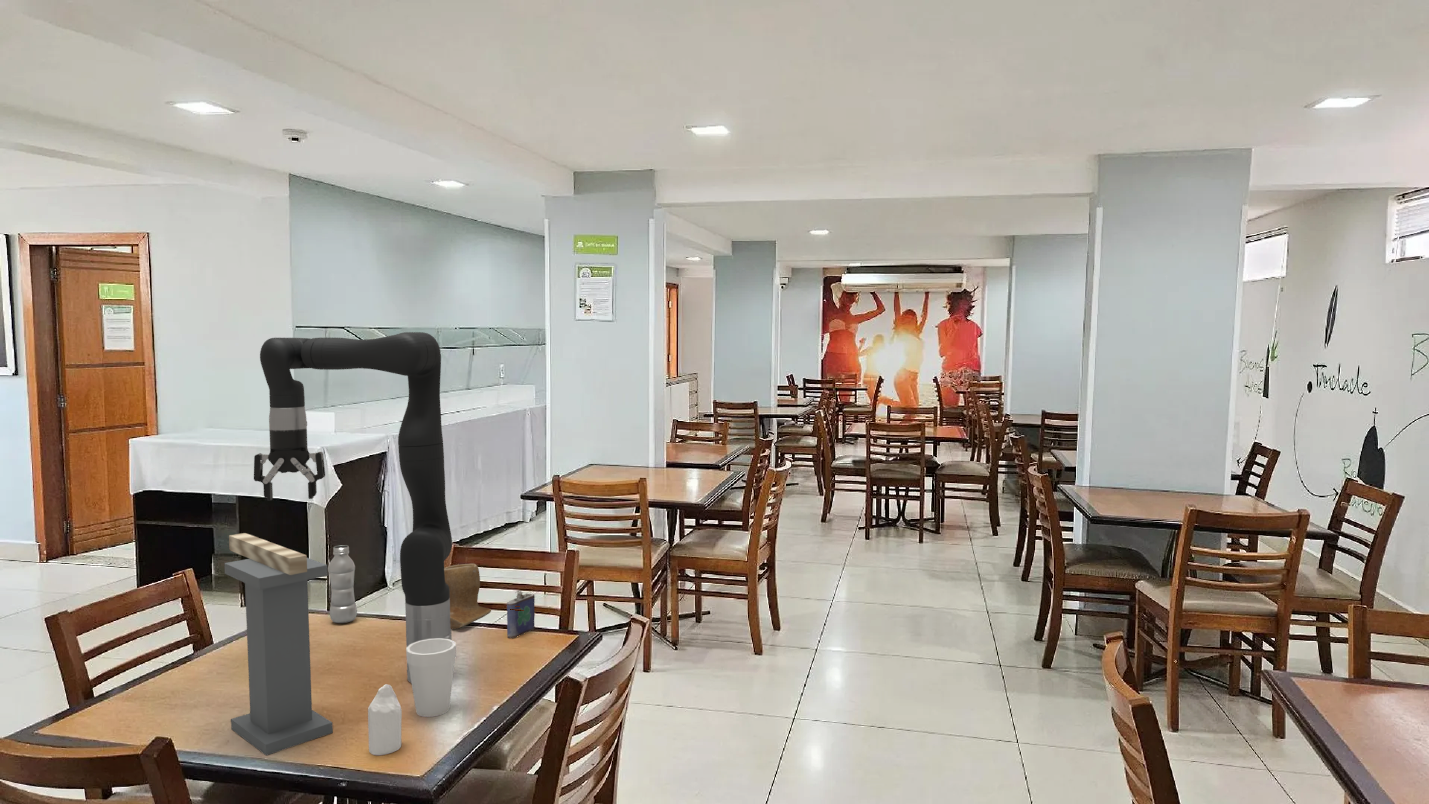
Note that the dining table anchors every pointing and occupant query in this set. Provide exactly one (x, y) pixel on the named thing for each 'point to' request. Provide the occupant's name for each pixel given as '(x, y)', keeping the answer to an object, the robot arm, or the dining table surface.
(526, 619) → the flask
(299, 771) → the dining table surface
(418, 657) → the foam cup
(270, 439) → the robot arm
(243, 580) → the stand
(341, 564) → the plastic bottle
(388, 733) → the white pointed cylinder
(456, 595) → the brown curved chair
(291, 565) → the light wooden bar
